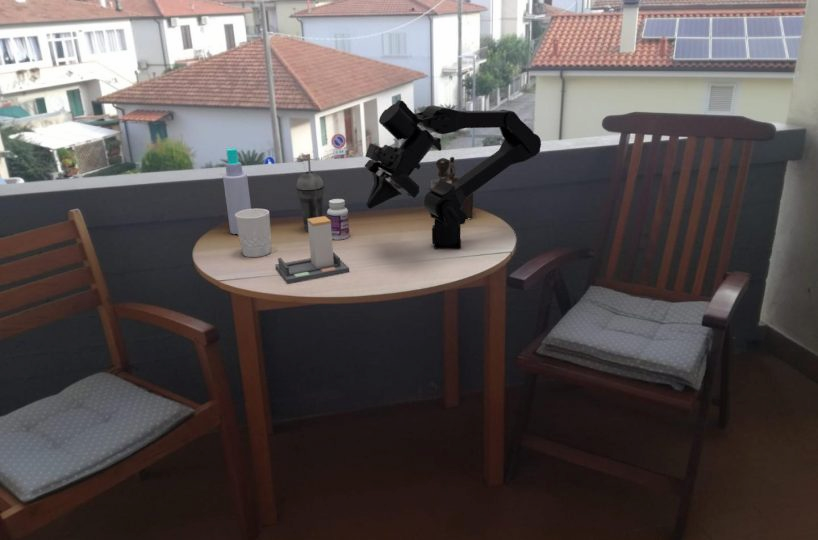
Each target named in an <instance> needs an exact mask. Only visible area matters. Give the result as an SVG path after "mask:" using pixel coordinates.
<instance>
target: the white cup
mask: <svg viewBox="0 0 818 540" xmlns="http://www.w3.org/2000/svg"><path fill="white" fill-rule="evenodd" d="M235 217H236V223H237V228H238V234H239V235H238V238H239V242H240V246H241V247H240V248H241V253H242V255H243V256H245V257H248V258H259V257H264V256H268V255H269V254H270V253H271V252H272V242H271V240H272V237H271V220H270V211H269V210H268V209H265V208H251V209H247V210H242V211H239V212H237V213H236V214H235Z"/></svg>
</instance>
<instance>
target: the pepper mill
mask: <svg viewBox="0 0 818 540" xmlns="http://www.w3.org/2000/svg"><path fill="white" fill-rule="evenodd" d="M455 164H456V163H455V157H454V156H451V157H450V158H449V159H448V158H446V157H441V158H439V159H437V160H436V162H435V168H436V169H437V170H438V173H437V176H438V177H439V179H431V181H430V188H433V187H435V186H436V185H437V184H438V183H439V182H440V181H442V180H443V181H445V182H448V183H453V182H455V181H457V180H458V179H459V178H460V177H459V176H457V168H456V166H455ZM448 169H450V170H449V172H448ZM473 202H474V193H472V194H471V195H470V196H468V197H467V198H466V200H465V202H464V204H463V206H462V208H461V209H460V210H461V211H462V212H464V213H465V214H466V215H467V217H466V219H468V218H472V219H473V209H474V208H473V206H474V203H473Z"/></svg>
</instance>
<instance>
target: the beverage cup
mask: <svg viewBox="0 0 818 540" xmlns="http://www.w3.org/2000/svg"><path fill="white" fill-rule="evenodd" d="M307 160H308V162H307V164H308V165H307V166H308V171H306V172H304V173H302V174H301V175H300V176H299V177H298V179H297V182H296V188H295V190H296V191H297V195H298V199H299V203H300V210H301V215H302V219H303V225H304V229H305V232H308V233H309V230H308V221H307V219H309V218H316V217H322V216H323V215H324V209H323V208H324V204H323V203H324V191H325V185H324V181H323V179H322V177H321V176H320V175H319V174H317V173H316V172H314V171H311V154H310V153H309V154H307Z"/></svg>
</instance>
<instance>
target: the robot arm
mask: <svg viewBox="0 0 818 540" xmlns="http://www.w3.org/2000/svg"><path fill="white" fill-rule="evenodd" d="M378 119H379V120H378V122H379V124H380V125H381V126H382V127H384V129H385V130H387V131H388V132H389V134H390V135H392V136H393V138H394V139H396V140H397V141H400V140H403V142H402V143H401V144H400V146H399V147H396V146H395V147H393V146H391V145H389V144H388V145H387V144H384V146H382V147H381V146H378V145H376V144H374V143H369V144H368V147H367V151H366V153H365V158H369V159H368V161H367V162H366V163H365V164H364V168H366V170H368V171H369V172H370V173H371V175H372V176H373V186H372V189H371V191H370V193H369V195H368V198H367V201H366V203H365V206H366V207H367V208H368V209H373V208H374V207H376V206H378V205H380V204H382V203H384V202H386V201H388V200H391V199H393V198H395V197H398V196H401V195H402V192H401V191H402V190H404V191H405V192H406V195H408V196H409V197H410V198H412V199H415V198H416V197H418V196H417V195H418V194H419V193H420V186H419V184H417V183H416V181H414V180H413V179H412V178H411V177H410V176H411V174H412V172H413V171H415V169H416V170H420V169H421V168H422V166H421V164H420V163H421V162H422V160H423V159H424V158H425V156H426V155H427V154H428V152H430V150H431V149H434V150H436V151H440V152H441V151H442V145H441V144H442V143H441V141H442V139H441V138H440V137H437V136H433V135H432V133H435V134H439V135H447V134H451V133H457V132H458V131H460V130H463V129H483V128H484V129H486V128H488V129H490V128H495V129H496V128H499V131H500V134H501V136H502V137H503V139H504V140H502V143H501V145H500V147H499V149H498V150H497V151H496V152H494V153H492V155H489V157H487V158H486V159H484V160H483V161H482V162H480V163H479V164H478V165H476V166H474V168H472V169H470V170H469V171H468V172H466V173H465V174H463V175H462V176H461V177H459V179H458V180H457V181H455V182H453V183H448V182H445V181H443V180H442V181H440V182H439V183H438V184H437V185H436V186H435V187H433V188H431V187H430V188H428V190H429V191H428V192H427V193H426V194H425V196H424V200H423V207H424V209H425V210H426V211H427V212H428V213H429V215H430V217H431V219H434V224H433V225H432V227H431V243H432V245H433V249H435V250H437V249H438V250H457V249H458V250H460V249H462V239H461V225H464V224H466V217H467V215H466V214H465V213H464V212H462V211H461V210H460V209H461V208H462V206H463V204H464V202H465V200H466V198H467V197H468V196H470V195H471V194H472V193H473V194H474V193H475V192H476V191H477V190H479V189H481V188H482V187H484V186H485V185H486V184H488V183H489V182H490V181H492V180H493V179H495V178H496V177H497V176H498V175H500V174H501V173H503V172H504V171H505V170H506V169H508V168H510V167H511V166H512V165H516V164H520V163H525V162H526V161H528V160H530V159H532V158H535V157H537V155H539V153H540V152H541V148H542V147H541V146H542V140H541V137H540V136H539V135H538V134H536V133H534V132H533V130H532V129H531V128H530V127H529V126H528V125H526V124H525V122H523V120H521V118H520V117H519V115H518V114H517V113H516V112H515V111H513V110H507V109H499V110H458V109H453V108H448V107H443V106H439V105H428V106H426V108H425V109H424V110H423V111H420V112H416V113H414V112H413V110H411V109H410V108H409V107H408V104H406V103H405V101H404V100H400V99H398V100H397V101H396V102H395V103H393V104H392V105H390V106H389V107H388V108H386V109H384V110H383V112H382V113H381V115H380V116H379V118H378ZM419 126H421V127H423V128H424V129H421V128H420V127H419ZM430 132H432V133H430Z"/></svg>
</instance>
